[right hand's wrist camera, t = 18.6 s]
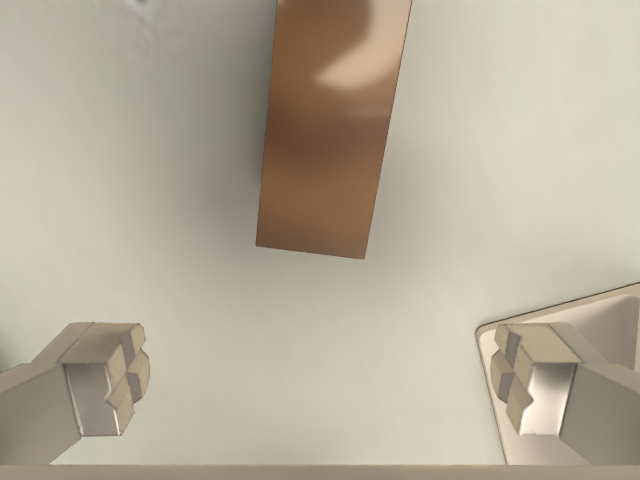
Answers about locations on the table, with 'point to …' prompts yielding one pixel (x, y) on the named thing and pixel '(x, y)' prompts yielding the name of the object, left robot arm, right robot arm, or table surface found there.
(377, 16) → the box
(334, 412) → the table surface
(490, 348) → the tablet stand
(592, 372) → the right robot arm
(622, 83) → the table surface
